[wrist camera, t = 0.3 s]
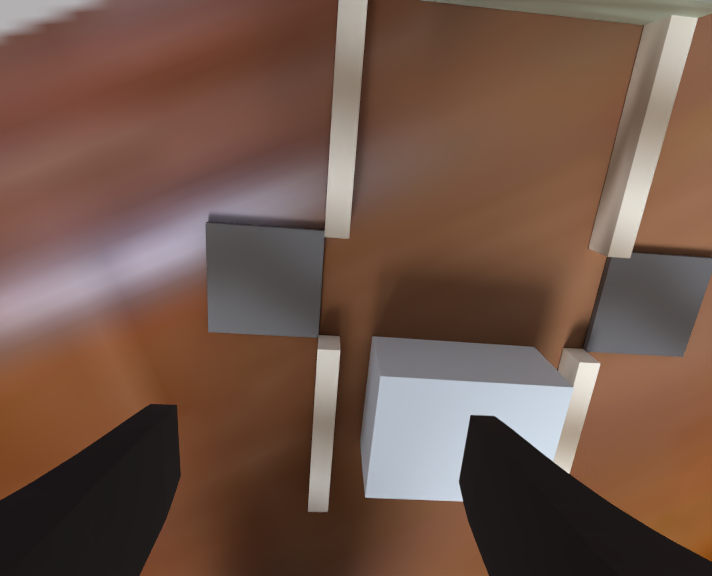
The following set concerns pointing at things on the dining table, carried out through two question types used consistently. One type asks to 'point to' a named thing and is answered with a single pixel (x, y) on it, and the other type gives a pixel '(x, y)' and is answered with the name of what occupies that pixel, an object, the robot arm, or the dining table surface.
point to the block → (449, 410)
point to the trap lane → (609, 237)
